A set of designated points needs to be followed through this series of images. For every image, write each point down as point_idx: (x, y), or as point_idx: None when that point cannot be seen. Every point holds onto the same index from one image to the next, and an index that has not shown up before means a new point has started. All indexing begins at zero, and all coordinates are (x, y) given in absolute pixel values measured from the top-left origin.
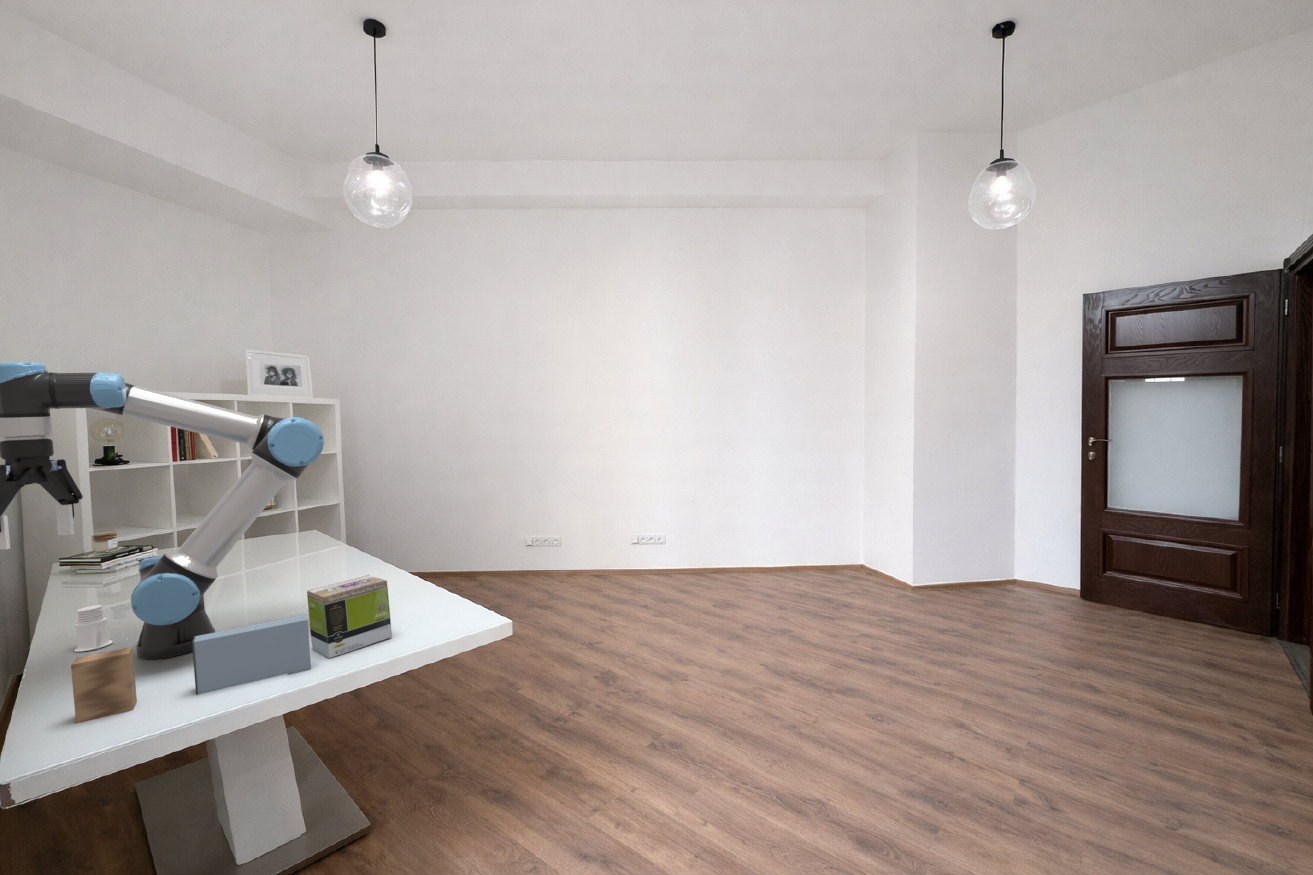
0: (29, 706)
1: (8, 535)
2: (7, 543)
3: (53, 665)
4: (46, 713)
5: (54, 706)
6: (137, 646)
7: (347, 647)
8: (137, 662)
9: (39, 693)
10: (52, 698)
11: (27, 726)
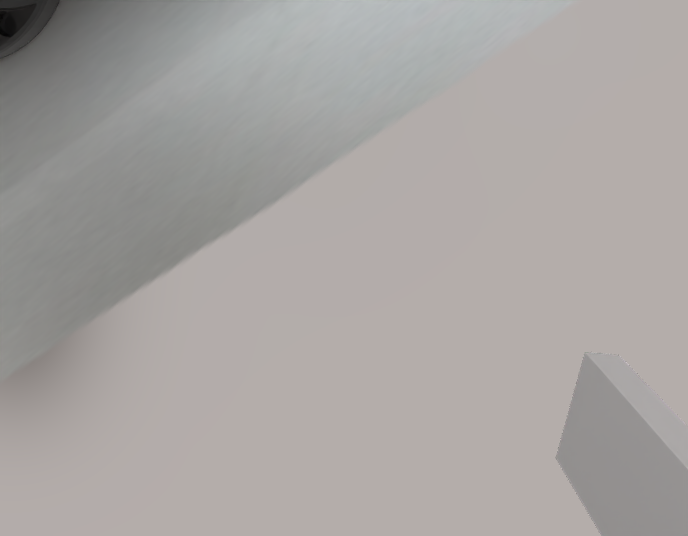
0: (388, 121)
1: (655, 422)
2: (627, 381)
3: (72, 292)
4: (457, 27)
5: (411, 39)
6: (15, 36)
7: None
8: (85, 2)
9: (296, 164)
10: (346, 93)
11: (533, 18)
